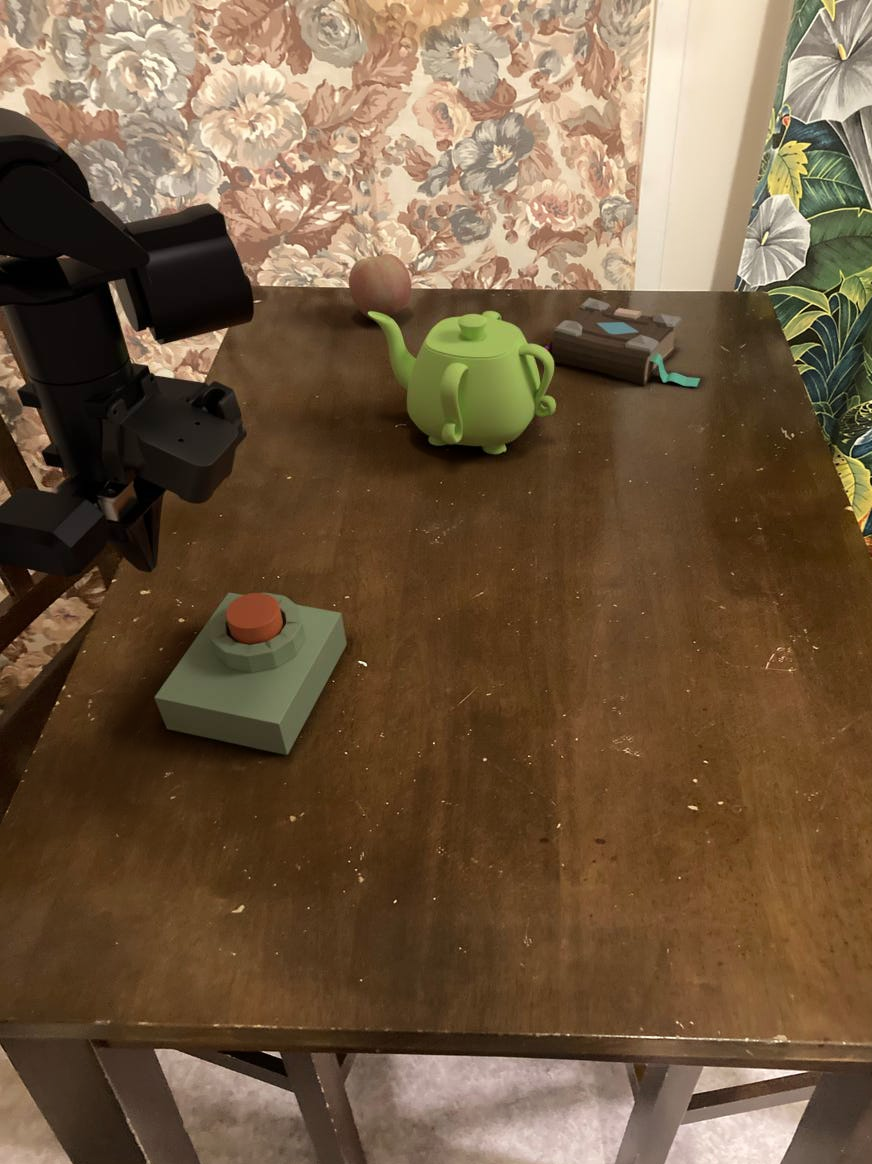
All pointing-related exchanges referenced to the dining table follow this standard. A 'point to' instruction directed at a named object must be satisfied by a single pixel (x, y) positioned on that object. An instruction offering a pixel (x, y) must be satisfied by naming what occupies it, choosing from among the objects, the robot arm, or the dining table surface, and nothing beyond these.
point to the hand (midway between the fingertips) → (147, 568)
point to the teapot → (471, 380)
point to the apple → (380, 285)
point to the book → (617, 343)
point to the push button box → (253, 678)
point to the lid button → (254, 618)
